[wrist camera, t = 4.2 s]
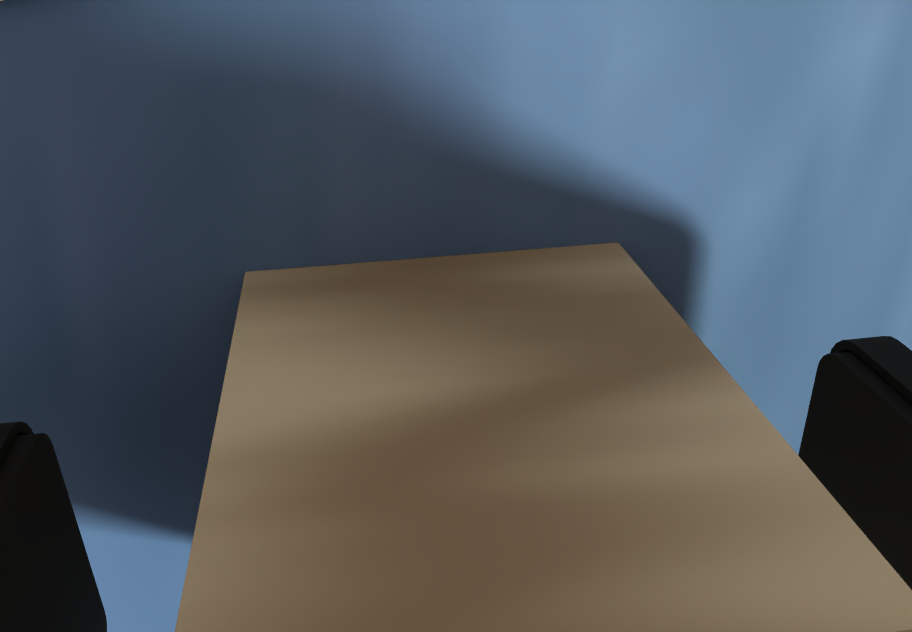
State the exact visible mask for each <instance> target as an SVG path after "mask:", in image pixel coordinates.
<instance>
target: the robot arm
mask: <svg viewBox="0 0 912 632" xmlns="http://www.w3.org/2000/svg"><path fill="white" fill-rule="evenodd" d="M798 456H799V457H800V458H801V460H802V461H803V462H804V463H805V464H806V465H807V467H808V468H809V469H810V470H811V471H812V473H813V474H814V475H815V476H816V477H817V478H818V480H819V481H820V482H821V483H822V484H823V486H824V487H825V488H826V489H827V490H828V492H829V493H830V494H831V495H832V496H833V497H834V499H835V500H836V501H837V502H838V503H839V505H840V506H841V507H842V508H843V509H844V510H845V512H846V513H847V514H848V515H849V516H850V518H851V519H852V520H853V521H854V522H855V524H856V525H857V526H858V527H859V528H860V529H861V531H862V532H863V533H864V534H865V535H866V537H867V538H868V539H869V540H870V541H871V542H872V544H873V545H874V546H875V547H876V548H877V550H878V551H879V552H880V553H881V554H882V556H883V557H884V558H885V559H886V560H887V561H888V563H889V564H890V565H891V566H892V567H893V569H894V570H895V571H896V572H897V573H898V574H899V576H900V577H901V578H902V579H903V580H904V582H905V583H906V584H907V585H908V586H909V587H910V589H911V590H912V351H911V350H910V349H909V348H907V347H906V346H905V345H904V344H902V343H901V342H900V341H898V340H897V339H895V338H893V337H890V336H880V337H870V338H860V339H850V340H842V341H840V342H838V343H836V344H835V346H834V347H833V348H832V350H831V352H830V354H827V355H824V356H823V357H822V358H821V360H820V362H819V365H818V368H817V373H816V377H815V382H814V386H813V391H812V396H811V400H810V405H809V409H808V414H807V419H806V423H805V428H804V432H803V437H802V442H801V446H800V451H799V455H798ZM0 632H107V622H106V615H105V611H104V607H103V604H102V601H101V598H100V595H99V591H98V588H97V585H96V582H95V579H94V575H93V572H92V569H91V566H90V563H89V559H88V556H87V553H86V550H85V547H84V543H83V540H82V537H81V534H80V531H79V527H78V524H77V521H76V518H75V515H74V511H73V508H72V505H71V502H70V499H69V496H68V492H67V489H66V486H65V483H64V480H63V476H62V473H61V470H60V467H59V464H58V460H57V457H56V454H55V451H54V448H53V445H52V442H51V440H50V438H49V437H48V436H47V434H44V433H39V434H33V432H32V430H31V428H30V427H29V426H28V425H27V424H26V423H24V422H22V421H21V422H11V423H1V424H0Z"/></svg>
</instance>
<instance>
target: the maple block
mask: <svg viewBox="0 0 912 632" xmlns="http://www.w3.org/2000/svg"><path fill="white" fill-rule="evenodd" d="M175 632H912V590H911V589H910V587H909V586H908V585H907V584H906V583H905V582H904V580H903V579H902V578H901V577H900V576H899V574H898V573H897V572H896V571H895V570H894V569H893V567H892V566H891V565H890V564H889V563H888V561H887V560H886V559H885V558H884V557H883V556H882V554H881V553H880V552H879V551H878V550H877V548H876V547H875V546H874V545H873V544H872V542H871V541H870V540H869V539H868V538H867V537H866V535H865V534H864V533H863V532H862V531H861V529H860V528H859V527H858V526H857V525H856V524H855V522H854V521H853V520H852V519H851V518H850V516H849V515H848V514H847V513H846V512H845V510H844V509H843V508H842V507H841V506H840V505H839V503H838V502H837V501H836V500H835V499H834V497H833V496H832V495H831V494H830V493H829V492H828V490H827V489H826V488H825V487H824V486H823V484H822V483H821V482H820V481H819V480H818V478H817V477H816V476H815V475H814V474H813V473H812V471H811V470H810V469H809V468H808V467H807V465H806V464H805V463H804V462H803V461H802V460H801V458H800V457H799V456H798V455H797V454H796V452H795V451H794V450H793V449H792V448H791V446H790V445H789V444H788V443H787V442H786V441H785V439H784V438H783V437H782V436H781V435H780V433H779V432H778V431H777V430H776V429H775V428H774V426H773V425H772V424H771V423H770V422H769V420H768V419H767V418H766V417H765V416H764V414H763V413H762V412H761V411H760V410H759V409H758V407H757V406H756V405H755V404H754V403H753V401H752V400H751V399H750V398H749V397H748V396H747V394H746V393H745V392H744V391H743V390H742V388H741V387H740V386H739V385H738V384H737V383H736V381H735V380H734V379H733V378H732V377H731V375H730V374H729V373H728V372H727V371H726V369H725V368H724V367H723V366H722V365H721V364H720V362H719V361H718V360H717V359H716V358H715V356H714V355H713V354H712V353H711V352H710V351H709V349H708V348H707V347H706V346H705V345H704V343H703V342H702V341H701V340H700V339H699V337H698V336H697V335H696V334H695V333H694V332H693V330H692V329H691V328H690V327H689V326H688V324H687V323H686V322H685V321H684V320H683V319H682V317H681V316H680V315H679V314H678V313H677V311H676V310H675V309H674V308H673V307H672V305H671V304H670V303H669V302H668V301H667V300H666V298H665V297H664V296H663V295H662V294H661V292H660V291H659V290H658V289H657V288H656V287H655V285H654V284H653V283H652V282H651V281H650V279H649V278H648V277H647V276H646V275H645V273H644V272H643V271H642V270H641V269H640V268H639V266H638V265H637V264H636V263H635V262H634V260H633V259H632V258H631V257H630V256H629V255H628V253H627V252H626V251H625V250H624V249H623V247H622V246H621V245H620V244H619V243H618V242H617V243H605V244H592V245H579V246H567V247H554V248H541V249H529V250H516V251H503V252H491V253H478V254H465V255H453V256H440V257H428V258H415V259H402V260H390V261H377V262H364V263H352V264H339V265H326V266H314V267H301V268H288V269H276V270H263V271H250V272H245V276H244V281H243V286H242V291H241V296H240V301H239V306H238V311H237V316H236V322H235V327H234V332H233V337H232V342H231V347H230V352H229V357H228V362H227V368H226V373H225V378H224V383H223V388H222V393H221V398H220V403H219V409H218V414H217V419H216V424H215V429H214V434H213V439H212V444H211V449H210V455H209V460H208V465H207V470H206V475H205V480H204V485H203V490H202V495H201V501H200V506H199V511H198V516H197V521H196V526H195V531H194V536H193V542H192V547H191V552H190V557H189V562H188V567H187V572H186V577H185V582H184V588H183V593H182V598H181V603H180V608H179V613H178V618H177V623H176V628H175Z"/></svg>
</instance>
